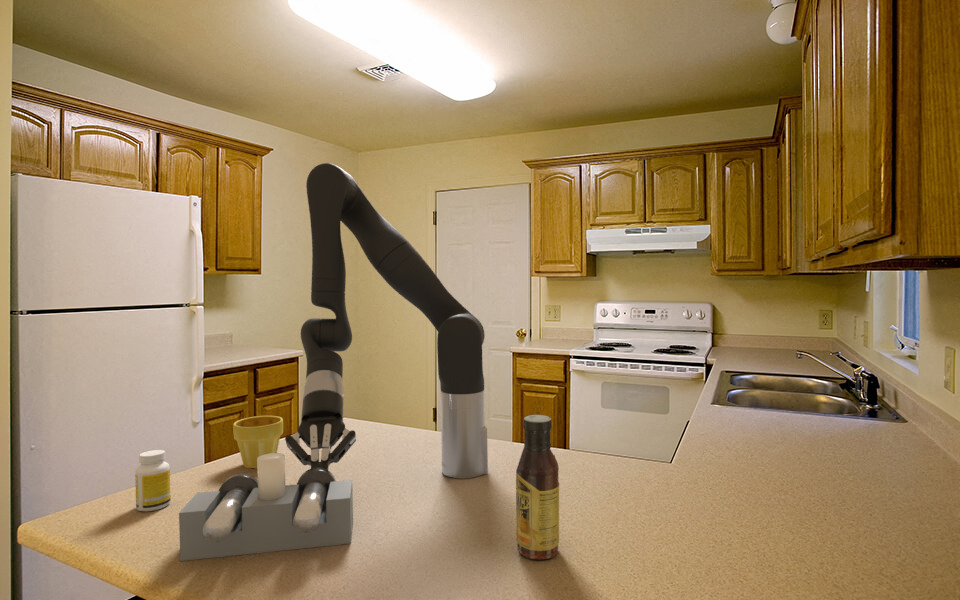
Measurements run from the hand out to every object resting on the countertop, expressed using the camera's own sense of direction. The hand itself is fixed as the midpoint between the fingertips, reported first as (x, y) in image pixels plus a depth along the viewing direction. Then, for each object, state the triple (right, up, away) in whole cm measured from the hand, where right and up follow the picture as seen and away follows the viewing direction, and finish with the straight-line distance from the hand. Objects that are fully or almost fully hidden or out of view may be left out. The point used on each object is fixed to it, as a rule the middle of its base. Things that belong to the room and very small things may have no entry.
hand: (319, 484), depth 93 cm
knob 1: (-10, -3, -10) cm, 15 cm away
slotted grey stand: (-5, -6, -9) cm, 11 cm away
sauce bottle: (+36, -5, -14) cm, 39 cm away
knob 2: (+1, -3, -8) cm, 9 cm away
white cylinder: (-5, +1, -9) cm, 10 cm away
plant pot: (-22, -5, +29) cm, 37 cm away
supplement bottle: (-32, -6, +6) cm, 33 cm away
